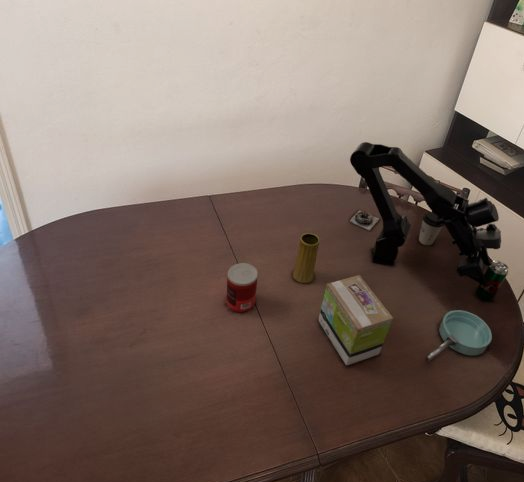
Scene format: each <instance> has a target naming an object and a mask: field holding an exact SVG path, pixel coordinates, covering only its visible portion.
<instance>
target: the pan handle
mask: <svg viewBox="0 0 524 482" xmlns="http://www.w3.org/2000/svg"><path fill="white" fill-rule="evenodd" d="M457 342H458V340H457V339H456V338H455V337H453V336H452V335H451V334H450V335H449V336H448V337H447V339H446V341H443V342H442V343H441V344H440V345H439V346H437V347H436V348H434V349H433V350H432V351H430V352H429V353H428V354H427V355H426V356H425V359H426V361H428V362H429V361H433V360H434V359H435V358H436V357H437V356H438V355H440V354H441V353H443V352H444V351H445V350H446V349H448V348H450V345H452V346H455V345H456V344H457Z"/></svg>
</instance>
